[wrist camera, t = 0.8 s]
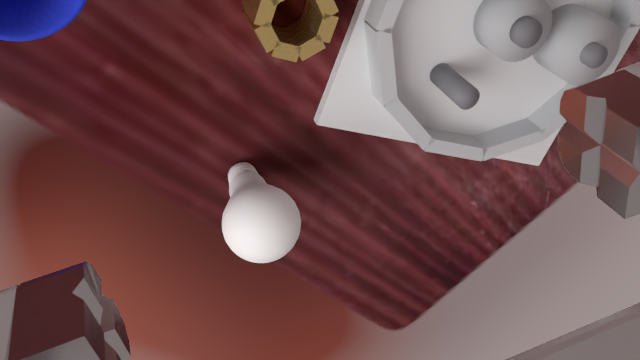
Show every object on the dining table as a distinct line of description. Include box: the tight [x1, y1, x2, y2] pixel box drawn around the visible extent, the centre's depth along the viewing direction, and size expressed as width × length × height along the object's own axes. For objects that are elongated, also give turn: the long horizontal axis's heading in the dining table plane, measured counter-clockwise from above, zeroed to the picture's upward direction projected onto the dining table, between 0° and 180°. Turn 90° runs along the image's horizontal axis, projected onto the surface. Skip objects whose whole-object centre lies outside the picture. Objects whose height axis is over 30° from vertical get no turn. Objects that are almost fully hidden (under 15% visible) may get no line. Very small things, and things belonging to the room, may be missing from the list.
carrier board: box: [314, 0, 640, 166], centre depth 51 cm, size 26×26×6 cm
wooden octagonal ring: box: [242, 0, 339, 62], centre depth 45 cm, size 6×6×4 cm
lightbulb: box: [222, 162, 301, 263], centre depth 50 cm, size 6×6×11 cm
